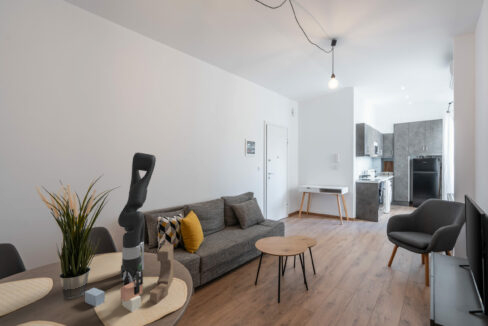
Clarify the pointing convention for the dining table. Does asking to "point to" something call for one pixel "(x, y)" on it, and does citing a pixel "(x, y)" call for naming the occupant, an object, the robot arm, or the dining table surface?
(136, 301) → the cream brick
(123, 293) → the terracotta brick
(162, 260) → the decorative block
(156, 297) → the walnut brick
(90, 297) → the slate brick
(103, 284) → the dining table surface
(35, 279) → the dining table surface
